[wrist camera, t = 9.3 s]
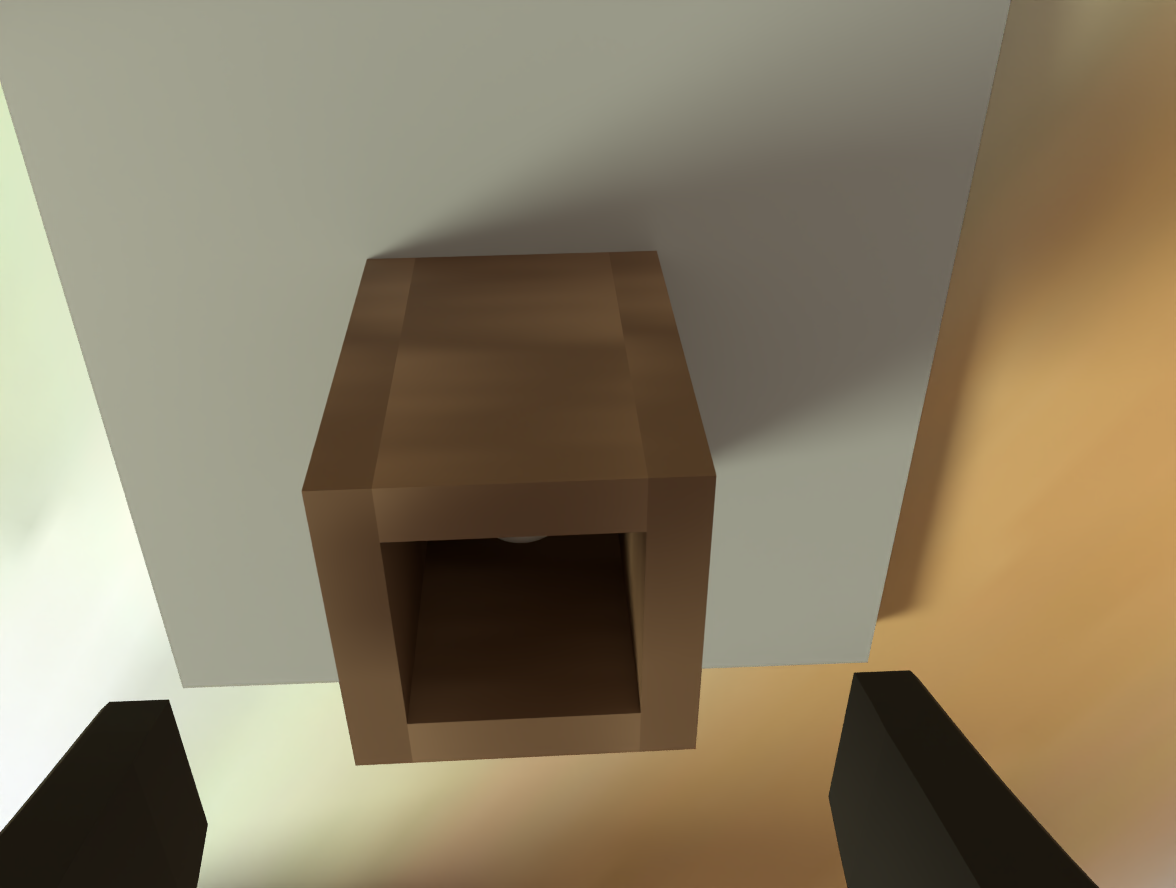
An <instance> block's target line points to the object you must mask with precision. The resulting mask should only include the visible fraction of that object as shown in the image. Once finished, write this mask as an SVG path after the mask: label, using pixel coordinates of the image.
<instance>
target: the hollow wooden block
mask: <svg viewBox="0 0 1176 888" xmlns="http://www.w3.org/2000/svg"><path fill="white" fill-rule="evenodd" d="M716 477H717V475H716V472H715V468H714V464H713V460H712V457H711V453H710V449H709V445H708V441H707V438H706V434H705V430H704V426H703V423H702V419H701V415H700V411H699V408H698V404H697V400H696V396H695V393H694V389H693V385H692V381H691V378H690V374H689V370H688V366H687V363H686V359H685V355H684V351H683V348H682V344H681V340H680V336H679V333H678V329H677V325H676V321H675V318H674V314H673V310H672V306H671V303H670V299H669V295H668V291H667V287H666V284H665V280H664V276H663V272H662V269H661V265H660V261H659V257H658V254H657V251H631V252H596V253H561V254H526V255H491V256H456V257H421V258H386V259H367V260H366V264H365V267H364V271H363V274H362V278H361V281H360V285H359V289H358V292H357V296H356V299H355V303H354V306H353V310H352V313H351V317H350V321H349V324H348V328H347V331H346V335H345V338H344V342H343V345H342V349H341V352H340V356H339V360H338V363H337V367H336V370H335V374H334V377H333V381H332V384H331V388H330V392H329V395H328V399H327V402H326V406H325V409H324V413H323V416H322V420H321V424H320V427H319V431H318V434H317V438H316V441H315V445H314V448H313V452H312V455H311V459H310V463H309V466H308V470H307V473H306V477H305V480H304V484H303V487H302V491H301V492H302V497H303V502H304V507H305V512H306V517H307V522H308V527H309V532H310V537H311V542H312V547H313V553H314V558H315V563H316V568H317V573H318V578H319V583H320V588H321V593H322V598H323V603H324V608H325V613H326V618H327V623H328V628H329V633H330V638H331V643H332V648H333V654H334V659H335V664H336V669H337V674H338V679H339V684H340V689H341V694H342V699H343V704H344V709H345V714H346V719H347V724H348V729H349V734H350V739H351V744H352V749H353V754H354V760H355V765H375V764H395V763H416V762H436V761H457V760H477V759H498V758H518V757H539V756H559V755H580V754H600V753H621V752H641V751H662V750H682V749H696V737H697V724H698V711H699V698H700V685H701V672H702V659H703V646H704V633H705V620H706V607H707V594H708V581H709V568H710V555H711V542H712V529H713V516H714V503H715V490H716ZM531 536H546V537H545V538H542V539H540V540H537V541H534V542H528V543H513V542H507V541H504V540H501V539H498V538H506V537H531Z"/></svg>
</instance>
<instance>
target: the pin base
mask: <svg viewBox="0 0 1176 888" xmlns="http://www.w3.org/2000/svg"><path fill="white" fill-rule="evenodd" d="M1010 2H1011V0H0V82H1V85H2V89H3V92H4V95H5V99H6V102H7V105H8V109H9V112H10V115H11V119H12V122H13V125H14V129H15V132H16V135H17V138H18V142H19V145H20V148H21V152H22V155H23V158H24V162H25V165H26V168H27V172H28V175H29V178H30V182H31V185H32V188H33V192H34V195H35V198H36V201H37V205H38V208H39V211H40V215H41V218H42V221H43V225H44V228H45V231H46V235H47V238H48V241H49V245H50V248H51V251H52V255H53V258H54V261H55V265H56V268H57V271H58V274H59V278H60V281H61V284H62V288H63V291H64V294H65V298H66V301H67V304H68V308H69V311H70V314H71V318H72V321H73V324H74V328H75V331H76V334H77V338H78V341H79V344H80V347H81V351H82V354H83V357H84V361H85V364H86V367H87V371H88V374H89V377H90V381H91V384H92V387H93V391H94V394H95V397H96V401H97V404H98V407H99V411H100V414H101V417H102V420H103V424H104V427H105V430H106V434H107V437H108V440H109V444H110V447H111V450H112V454H113V457H114V460H115V464H116V467H117V470H118V474H119V477H120V480H121V484H122V487H123V490H124V493H125V497H126V500H127V503H128V507H129V510H130V513H131V517H132V520H133V523H134V527H135V530H136V533H137V537H138V540H139V543H140V547H141V550H142V553H143V557H144V560H145V563H146V566H147V570H148V573H149V576H150V580H151V583H152V586H153V590H154V593H155V596H156V600H157V603H158V606H159V610H160V613H161V616H162V620H163V623H164V626H165V629H166V633H167V636H168V639H169V643H170V646H171V649H172V653H173V656H174V659H175V663H176V666H177V669H178V673H179V676H180V679H181V683H182V686H183V688H196V687H222V686H249V685H276V684H302V683H329V682H339V679H338V674H337V669H336V664H335V659H334V654H333V648H332V643H331V638H330V633H329V628H328V623H327V618H326V613H325V608H324V603H323V598H322V593H321V588H320V583H319V578H318V573H317V568H316V563H315V558H314V553H313V547H312V542H311V537H310V532H309V527H308V522H307V517H306V512H305V507H304V502H303V497H302V492H301V491H302V487H303V484H304V480H305V477H306V473H307V470H308V466H309V463H310V459H311V455H312V452H313V448H314V445H315V441H316V438H317V434H318V431H319V427H320V424H321V420H322V416H323V413H324V409H325V406H326V402H327V399H328V395H329V392H330V388H331V384H332V381H333V377H334V374H335V370H336V367H337V363H338V360H339V356H340V352H341V349H342V345H343V342H344V338H345V335H346V331H347V328H348V324H349V321H350V317H351V313H352V310H353V306H354V303H355V299H356V296H357V292H358V289H359V285H360V281H361V278H362V274H363V271H364V267H365V264H366V260H367V259H386V258H421V257H456V256H491V255H526V254H561V253H596V252H631V251H657V254H658V257H659V261H660V265H661V269H662V272H663V276H664V280H665V284H666V287H667V291H668V295H669V299H670V303H671V306H672V310H673V314H674V318H675V321H676V325H677V329H678V333H679V336H680V340H681V344H682V348H683V351H684V355H685V359H686V363H687V366H688V370H689V374H690V378H691V381H692V385H693V389H694V393H695V396H696V400H697V404H698V408H699V411H700V415H701V419H702V423H703V426H704V430H705V434H706V438H707V441H708V445H709V449H710V453H711V457H712V460H713V464H714V468H715V472H716V475H717V477H716V490H715V503H714V516H713V529H712V542H711V555H710V568H709V581H708V594H707V607H706V620H705V633H704V646H703V659H702V668H729V667H756V666H782V665H809V664H836V663H862V662H868V658H869V653H870V649H871V644H872V639H873V635H874V630H875V626H876V621H877V616H878V612H879V607H880V602H881V598H882V593H883V589H884V584H885V579H886V575H887V570H888V566H889V561H890V556H891V552H892V547H893V542H894V538H895V533H896V529H897V524H898V519H899V515H900V510H901V506H902V501H903V496H904V492H905V487H906V482H907V478H908V473H909V469H910V464H911V459H912V455H913V450H914V446H915V441H916V436H917V432H918V427H919V422H920V418H921V413H922V409H923V404H924V399H925V395H926V390H927V386H928V381H929V376H930V372H931V367H932V362H933V358H934V353H935V349H936V344H937V339H938V335H939V330H940V326H941V321H942V316H943V312H944V307H945V302H946V298H947V293H948V289H949V284H950V279H951V275H952V270H953V266H954V261H955V256H956V252H957V247H958V242H959V238H960V233H961V229H962V224H963V219H964V215H965V210H966V206H967V201H968V196H969V192H970V187H971V182H972V178H973V173H974V169H975V164H976V159H977V155H978V150H979V146H980V141H981V136H982V132H983V127H984V122H985V118H986V113H987V109H988V104H989V99H990V95H991V90H992V86H993V81H994V76H995V72H996V67H997V62H998V58H999V53H1000V49H1001V44H1002V39H1003V35H1004V30H1005V26H1006V21H1007V16H1008V12H1009V7H1010ZM545 537H546V536H531V537H506V538H498V539H501V540H504V541H507V542H513V543H528V542H534V541H537V540H540V539H542V538H545Z"/></svg>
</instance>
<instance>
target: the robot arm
mask: <svg viewBox="0 0 1176 888" xmlns="http://www.w3.org/2000/svg"><path fill="white" fill-rule="evenodd" d="M829 801H830V806H831V811H832V816H833V821H834V826H835V831H836V836H837V841H838V846H839V851H840V855H841V860H842V865H843V869H844V874H845V878H846V883H847V887H848V888H1099V887H1098V886H1097V885H1096V884H1095V883H1094V882H1093V881H1092V880H1091V879H1090V878H1089V877H1088V876H1087V874H1086V873H1085V872H1084V871H1083V870H1082V869H1081V868H1080V867H1079V866H1078V865H1077V864H1076V863H1075V862H1074V861H1073V860H1072V859H1071V857H1070V856H1069V855H1068V854H1067V853H1066V852H1065V851H1064V850H1063V849H1062V848H1061V846H1060V845H1059V844H1058V843H1057V842H1056V841H1055V840H1054V839H1053V838H1052V836H1051V835H1050V834H1049V833H1048V832H1047V831H1046V830H1045V829H1044V827H1043V826H1042V825H1041V824H1040V823H1039V822H1038V821H1037V820H1036V819H1035V817H1034V816H1033V815H1032V814H1031V813H1030V812H1029V811H1028V810H1027V809H1026V807H1025V806H1024V805H1023V804H1022V803H1021V802H1020V801H1019V800H1018V798H1017V797H1016V796H1015V795H1014V794H1013V793H1012V791H1011V790H1010V789H1009V788H1008V787H1007V786H1006V784H1005V783H1004V782H1003V781H1002V780H1001V779H1000V777H999V776H998V775H997V774H996V773H995V772H994V770H993V769H992V768H991V767H990V766H989V764H988V763H987V762H986V761H985V760H984V758H983V757H982V756H981V755H980V754H979V752H978V751H977V750H976V749H975V748H974V746H973V745H972V744H971V743H970V742H969V740H968V739H967V738H966V737H965V736H964V734H963V733H962V732H961V731H960V729H959V728H958V727H957V726H956V725H955V723H954V722H953V721H952V720H951V718H950V717H949V716H948V715H947V713H946V712H945V711H944V710H943V708H942V707H941V706H940V705H939V704H938V702H937V701H936V700H935V699H934V697H933V696H932V695H931V694H930V692H929V691H928V690H927V689H926V687H925V686H924V685H923V684H922V682H921V681H920V680H919V679H918V678H917V677H916V676H915V675H914V674H913V673H912V672H911V671H884V672H859V673H854V675H853V680H852V685H851V690H850V694H849V699H848V704H847V709H846V714H845V719H844V724H843V728H842V733H841V738H840V743H839V748H838V753H837V758H836V762H835V767H834V772H833V777H832V782H831V787H830V792H829ZM207 826H208V823H207V820H206V817H205V814H204V811H203V807H202V804H201V801H200V798H199V795H198V791H197V788H196V785H195V782H194V779H193V775H192V772H191V769H190V766H189V763H188V759H187V756H186V753H185V750H184V747H183V743H182V740H181V737H180V734H179V730H178V727H177V724H176V721H175V718H174V714H173V711H172V708H171V705H170V702H169V700H146V701H121V702H109V703H108V704H107V705H106V706H104V707H103V708H102V709H101V710H100V712H99V713H98V714H97V715H96V716H95V718H94V719H93V720H92V721H91V723H90V724H89V725H88V726H87V727H86V729H85V730H84V731H83V732H82V734H81V735H80V736H79V737H78V739H77V740H76V741H75V742H74V743H73V745H72V746H71V747H70V748H69V750H68V751H67V752H66V753H65V755H64V756H63V757H62V758H61V760H60V761H59V762H58V763H57V764H56V766H55V767H54V768H53V769H52V771H51V772H50V773H49V774H48V775H47V777H46V778H45V779H44V780H43V782H42V783H41V784H40V785H39V786H38V788H37V789H36V790H35V791H34V793H33V794H32V795H31V796H30V797H29V799H28V800H27V801H26V802H25V803H24V805H23V806H22V807H21V808H20V809H19V811H18V812H17V813H16V814H15V815H14V817H13V818H12V819H11V820H10V821H9V823H8V824H7V825H6V826H5V827H4V829H3V830H2V831H1V832H0V888H197V883H198V878H199V873H200V867H201V861H202V855H203V849H204V844H205V838H206V832H207Z"/></svg>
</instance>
